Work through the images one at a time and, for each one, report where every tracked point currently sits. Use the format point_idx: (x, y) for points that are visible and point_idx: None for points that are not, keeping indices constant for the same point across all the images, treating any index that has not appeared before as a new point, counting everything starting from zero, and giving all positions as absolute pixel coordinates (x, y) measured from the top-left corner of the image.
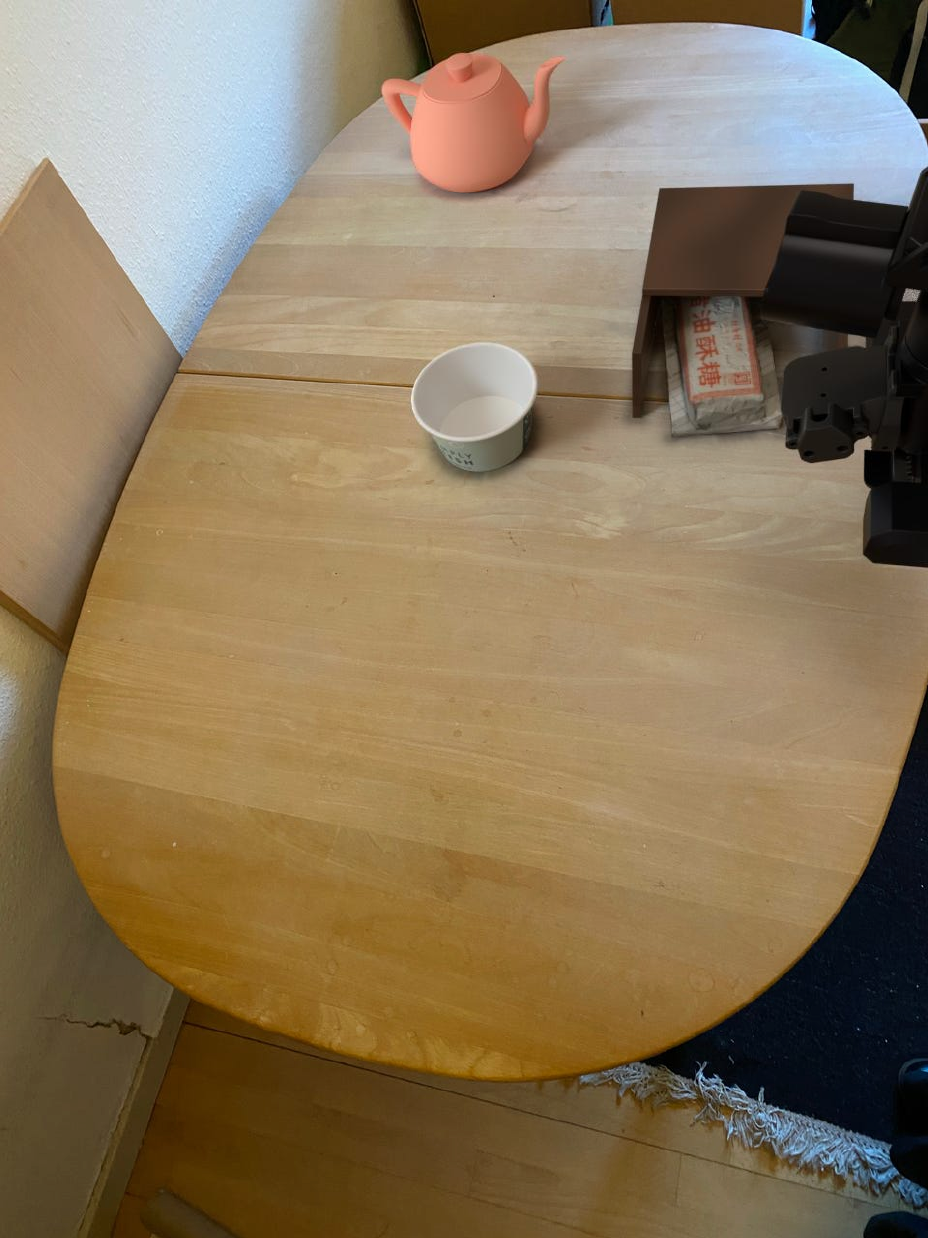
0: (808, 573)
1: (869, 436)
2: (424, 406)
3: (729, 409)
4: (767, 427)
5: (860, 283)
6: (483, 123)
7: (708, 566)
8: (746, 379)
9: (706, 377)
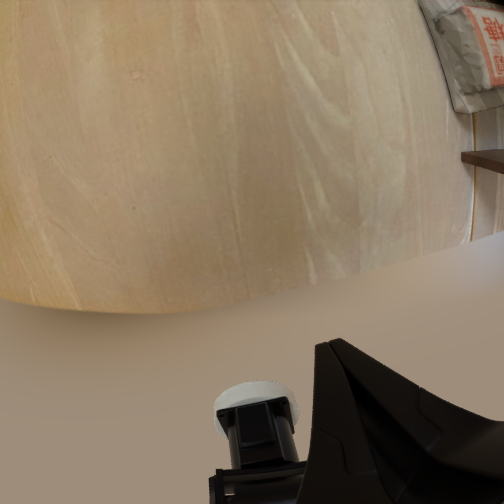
0: (275, 175)
1: (493, 477)
2: None
3: (466, 50)
4: (453, 98)
5: None
6: None
7: (248, 52)
8: (500, 69)
9: (491, 25)
